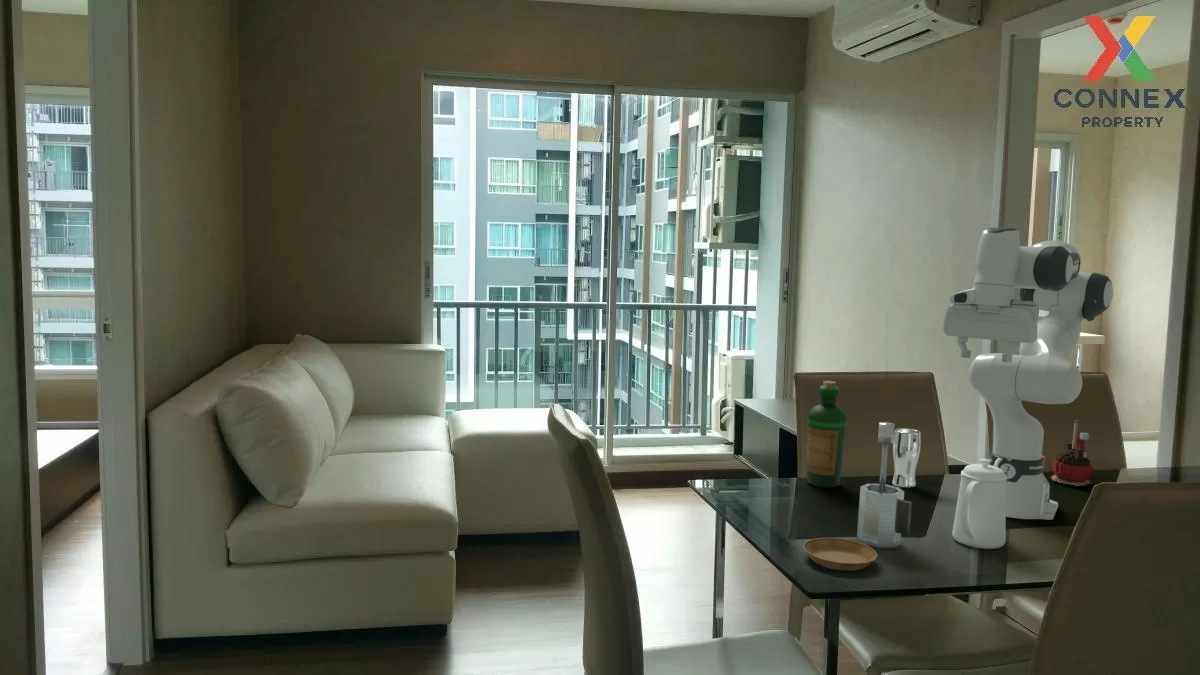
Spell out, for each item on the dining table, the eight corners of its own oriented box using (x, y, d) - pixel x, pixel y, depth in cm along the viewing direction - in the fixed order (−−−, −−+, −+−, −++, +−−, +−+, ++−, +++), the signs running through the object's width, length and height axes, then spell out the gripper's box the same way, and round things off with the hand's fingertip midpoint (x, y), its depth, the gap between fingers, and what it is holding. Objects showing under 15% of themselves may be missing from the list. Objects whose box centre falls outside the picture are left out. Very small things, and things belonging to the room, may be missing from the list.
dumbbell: (875, 494, 198) (880, 420, 196) (898, 500, 195) (904, 424, 193) (864, 499, 194) (869, 423, 192) (887, 505, 191) (893, 427, 189)
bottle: (794, 480, 244) (800, 379, 241) (826, 477, 248) (833, 378, 245) (819, 491, 234) (825, 386, 231) (851, 488, 239) (858, 384, 235)
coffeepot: (1020, 534, 205) (1027, 453, 203) (987, 562, 186) (995, 474, 183) (971, 523, 212) (977, 445, 209) (934, 549, 192) (941, 464, 190)
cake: (1046, 477, 257) (1051, 415, 255) (1080, 479, 255) (1086, 417, 253) (1059, 487, 246) (1065, 423, 244) (1095, 489, 245) (1102, 425, 243)
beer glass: (895, 479, 248) (898, 426, 247) (920, 484, 244) (924, 430, 243) (886, 485, 243) (890, 430, 241) (912, 489, 239) (916, 434, 237)
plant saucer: (891, 571, 179) (892, 559, 179) (829, 578, 174) (829, 565, 174) (848, 546, 193) (848, 535, 193) (788, 552, 188) (789, 540, 188)
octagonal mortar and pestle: (868, 532, 202) (872, 480, 201) (916, 545, 195) (920, 491, 193) (849, 541, 195) (852, 488, 194) (897, 555, 188) (901, 499, 187)
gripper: (1046, 302, 194) (1038, 365, 195) (956, 297, 210) (950, 355, 210) (1033, 300, 190) (1026, 364, 191) (943, 294, 206) (936, 354, 206)
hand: (985, 359), depth 201 cm, fingers open, 8 cm apart
